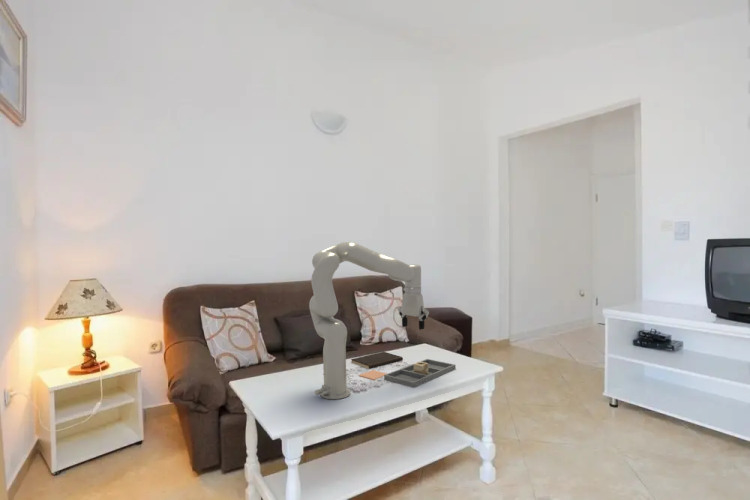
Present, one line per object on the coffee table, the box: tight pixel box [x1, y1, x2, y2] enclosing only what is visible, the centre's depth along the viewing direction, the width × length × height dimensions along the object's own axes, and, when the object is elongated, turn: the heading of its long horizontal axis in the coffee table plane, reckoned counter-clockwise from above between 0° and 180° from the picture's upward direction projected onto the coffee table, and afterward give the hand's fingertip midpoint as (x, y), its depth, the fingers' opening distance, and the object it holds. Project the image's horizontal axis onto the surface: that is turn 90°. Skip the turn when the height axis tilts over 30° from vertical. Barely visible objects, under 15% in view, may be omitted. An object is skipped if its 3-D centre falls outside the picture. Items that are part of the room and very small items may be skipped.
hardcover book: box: [350, 351, 404, 370], centre depth 221 cm, size 16×23×2 cm
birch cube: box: [413, 361, 428, 375], centre depth 197 cm, size 5×5×5 cm
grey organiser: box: [383, 358, 457, 389], centre depth 197 cm, size 34×17×2 cm, turn 137°
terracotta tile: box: [358, 369, 388, 381], centre depth 197 cm, size 10×10×1 cm
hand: (413, 327), depth 193 cm, fingers open, 9 cm apart
